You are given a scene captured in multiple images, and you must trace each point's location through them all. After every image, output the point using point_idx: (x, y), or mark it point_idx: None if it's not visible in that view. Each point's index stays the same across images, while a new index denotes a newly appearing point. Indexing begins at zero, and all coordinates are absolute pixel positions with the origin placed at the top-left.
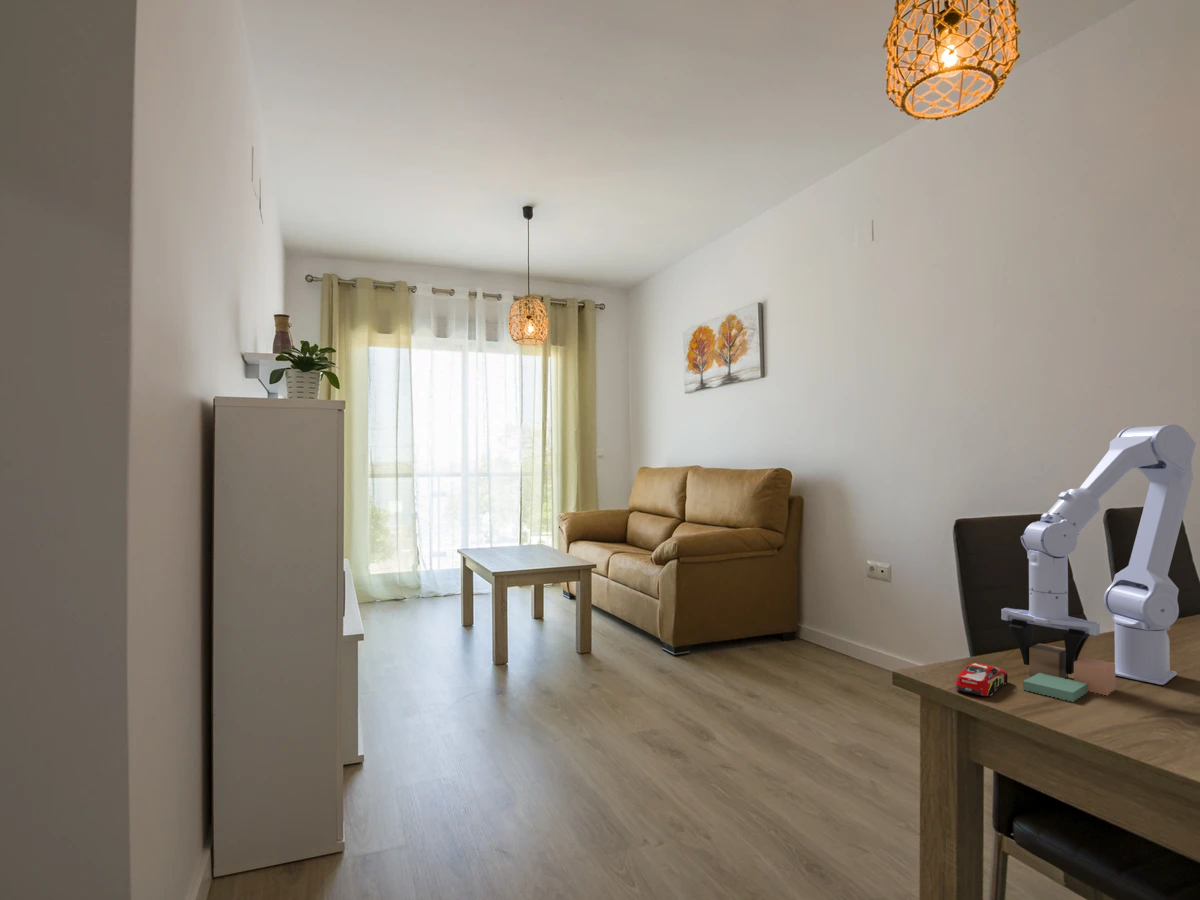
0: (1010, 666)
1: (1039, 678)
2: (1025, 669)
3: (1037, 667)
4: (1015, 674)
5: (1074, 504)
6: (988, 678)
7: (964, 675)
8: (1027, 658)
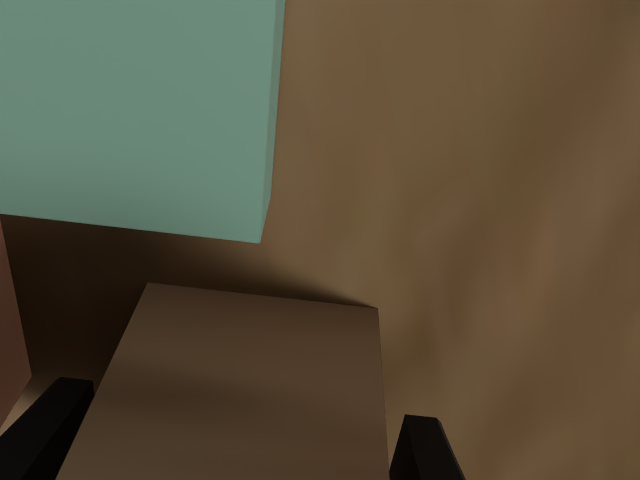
0: (538, 441)
1: (180, 4)
2: None
3: (309, 368)
4: (485, 276)
5: None
6: None
7: None
8: (414, 466)
